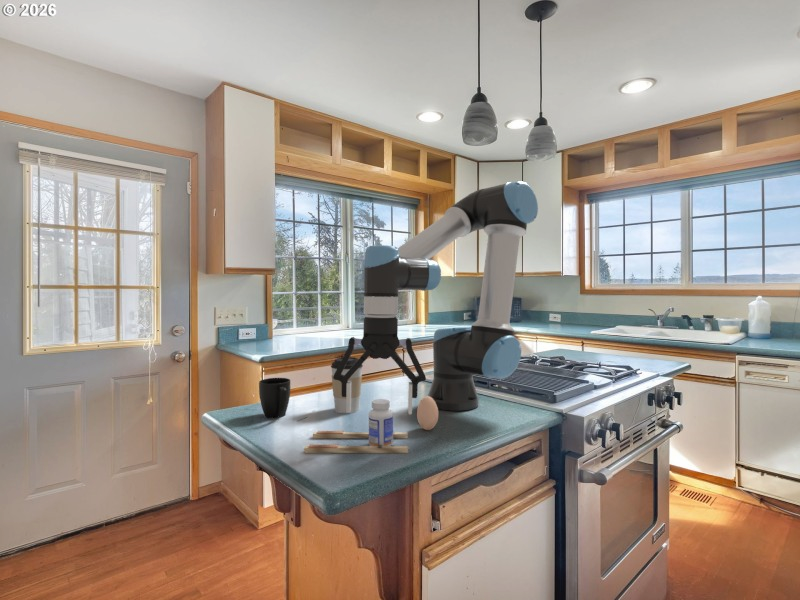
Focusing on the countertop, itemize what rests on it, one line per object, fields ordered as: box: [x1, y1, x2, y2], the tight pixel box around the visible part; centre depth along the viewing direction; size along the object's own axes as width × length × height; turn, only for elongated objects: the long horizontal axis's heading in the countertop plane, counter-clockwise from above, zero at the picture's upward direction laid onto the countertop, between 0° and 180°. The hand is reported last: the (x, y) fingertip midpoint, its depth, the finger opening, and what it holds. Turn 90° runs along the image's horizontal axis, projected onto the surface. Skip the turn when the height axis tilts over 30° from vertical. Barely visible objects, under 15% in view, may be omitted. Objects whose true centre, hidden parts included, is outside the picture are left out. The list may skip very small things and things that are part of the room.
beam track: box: [303, 430, 409, 454], centre depth 95 cm, size 22×10×1 cm, turn 90°
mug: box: [258, 377, 291, 419], centre depth 115 cm, size 8×12×10 cm
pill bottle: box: [368, 398, 394, 446], centre depth 95 cm, size 5×5×10 cm
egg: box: [416, 395, 439, 431], centre depth 105 cm, size 5×5×8 cm
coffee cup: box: [330, 356, 364, 414], centre depth 122 cm, size 9×9×15 cm
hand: (379, 412), depth 95 cm, fingers open, 13 cm apart
